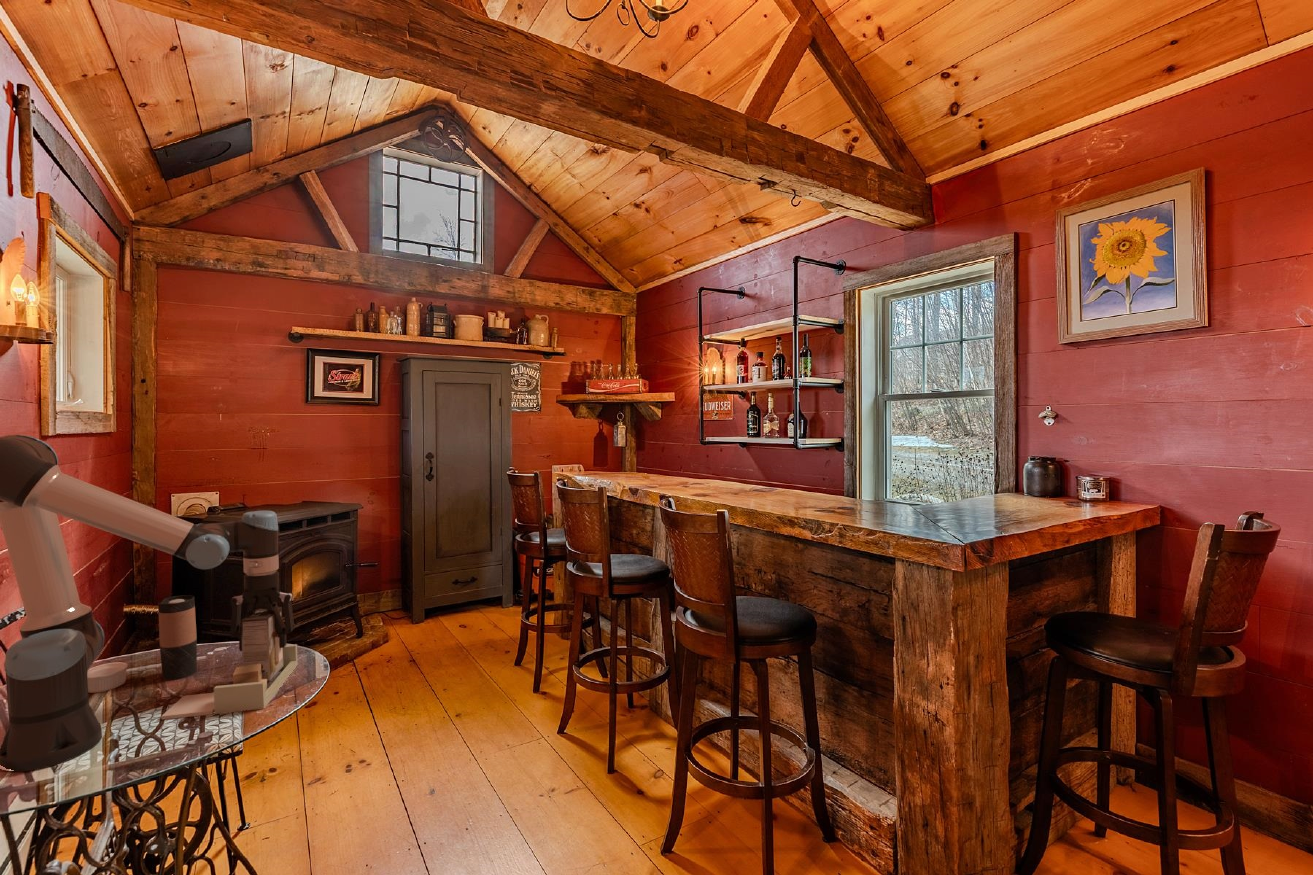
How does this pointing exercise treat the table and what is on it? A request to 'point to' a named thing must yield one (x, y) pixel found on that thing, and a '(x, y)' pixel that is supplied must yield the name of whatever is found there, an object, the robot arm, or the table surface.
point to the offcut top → (247, 674)
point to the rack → (253, 688)
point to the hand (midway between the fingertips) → (263, 661)
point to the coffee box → (260, 642)
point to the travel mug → (177, 637)
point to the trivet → (191, 706)
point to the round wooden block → (106, 677)
